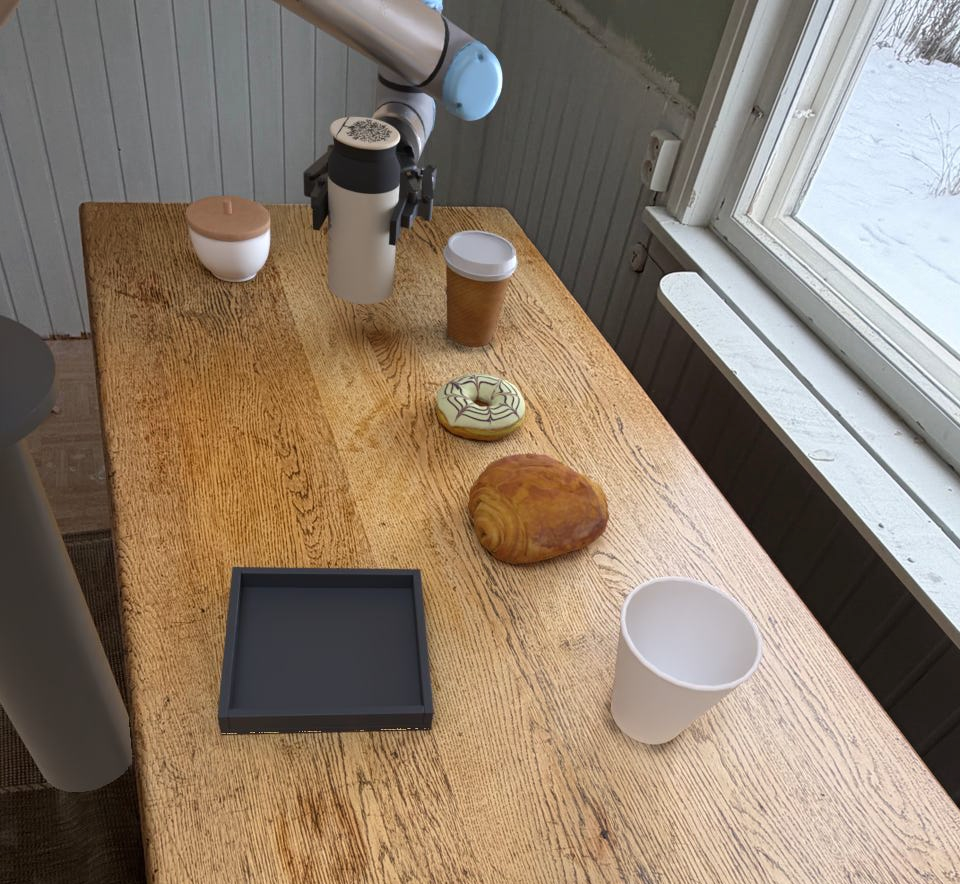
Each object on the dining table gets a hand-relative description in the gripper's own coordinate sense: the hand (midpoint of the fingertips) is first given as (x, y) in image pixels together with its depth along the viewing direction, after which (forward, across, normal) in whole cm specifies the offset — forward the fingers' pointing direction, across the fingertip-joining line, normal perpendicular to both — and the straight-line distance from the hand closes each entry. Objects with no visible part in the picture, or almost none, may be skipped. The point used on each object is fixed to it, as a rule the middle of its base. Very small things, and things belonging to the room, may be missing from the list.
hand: (354, 225), depth 90 cm
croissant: (+24, -25, -17) cm, 39 cm away
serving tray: (+47, -8, -17) cm, 50 cm away
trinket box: (-16, +20, -17) cm, 31 cm away
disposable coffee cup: (-11, -14, -17) cm, 25 cm away
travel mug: (-5, 0, -10) cm, 11 cm away
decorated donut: (+7, -17, -17) cm, 25 cm away
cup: (+47, -38, -17) cm, 63 cm away
